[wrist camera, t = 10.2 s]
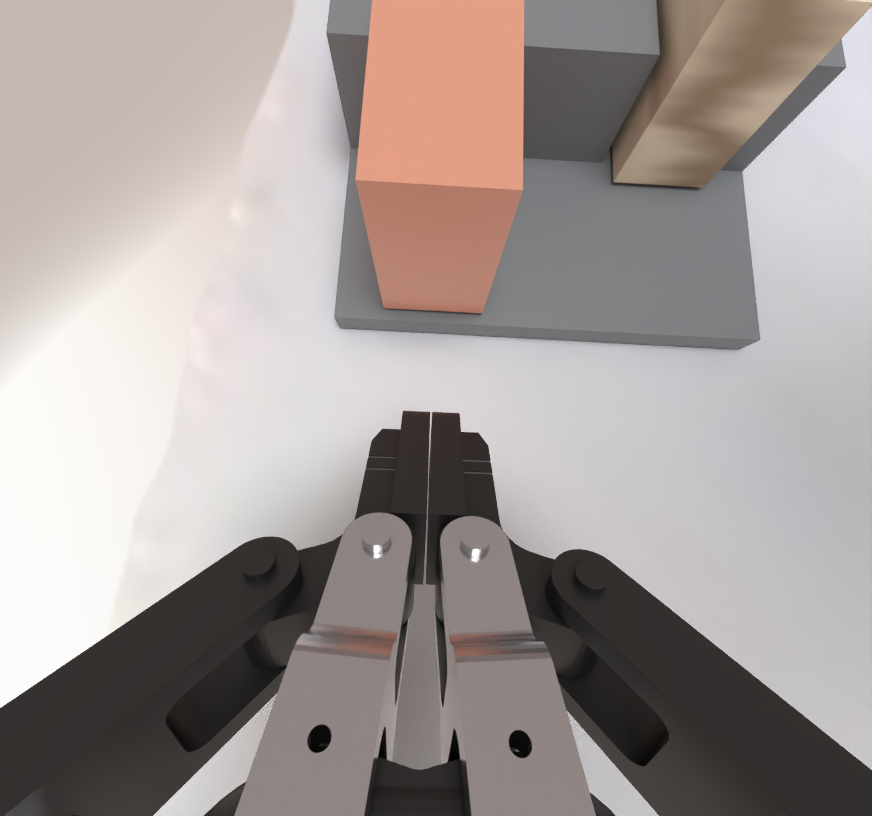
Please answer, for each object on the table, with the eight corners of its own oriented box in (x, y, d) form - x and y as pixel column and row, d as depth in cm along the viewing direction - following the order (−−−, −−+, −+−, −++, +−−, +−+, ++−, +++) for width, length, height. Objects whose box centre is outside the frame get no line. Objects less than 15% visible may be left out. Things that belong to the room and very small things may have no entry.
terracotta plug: (486, 143, 23) (524, -66, 15) (482, 313, 22) (522, 190, 13) (396, 138, 23) (379, -77, 14) (383, 308, 21) (355, 180, 13)
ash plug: (690, 39, 25) (834, -204, 16) (703, 187, 23) (874, 2, 14) (607, 33, 25) (707, -214, 16) (613, 182, 23) (730, -8, 14)
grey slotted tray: (710, 52, 27) (816, -109, 20) (738, 349, 23) (882, 284, 16) (368, 30, 27) (346, -144, 20) (340, 328, 23) (300, 252, 16)
